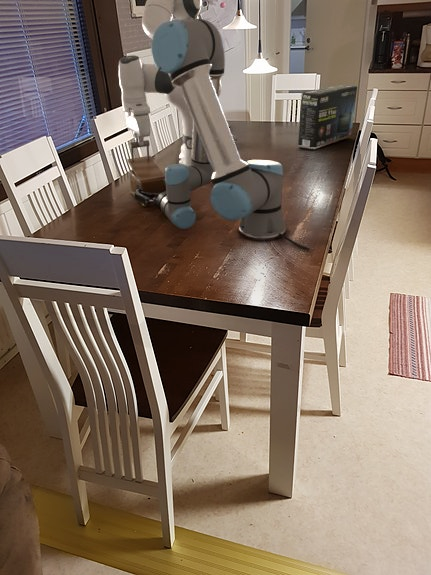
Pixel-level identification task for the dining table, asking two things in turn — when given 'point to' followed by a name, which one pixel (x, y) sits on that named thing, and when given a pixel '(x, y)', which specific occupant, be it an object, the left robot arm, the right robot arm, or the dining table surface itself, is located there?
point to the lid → (144, 165)
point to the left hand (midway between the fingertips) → (139, 144)
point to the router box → (326, 115)
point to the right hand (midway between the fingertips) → (150, 186)
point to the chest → (147, 186)
